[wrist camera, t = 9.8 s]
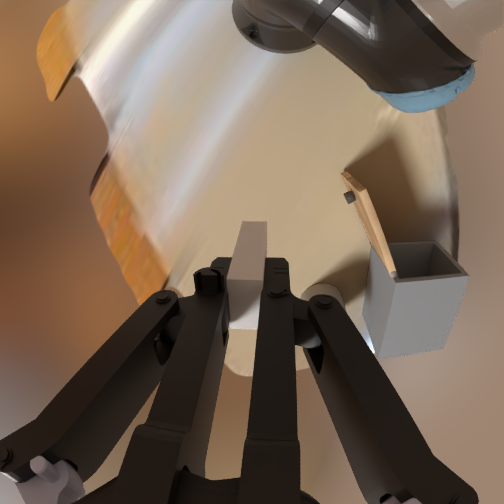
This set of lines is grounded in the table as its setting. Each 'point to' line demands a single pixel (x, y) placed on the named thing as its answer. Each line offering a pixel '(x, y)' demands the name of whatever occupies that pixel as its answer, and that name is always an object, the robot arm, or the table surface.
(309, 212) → the table surface
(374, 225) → the wooden cabinet door
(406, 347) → the grey open box
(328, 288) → the cup
